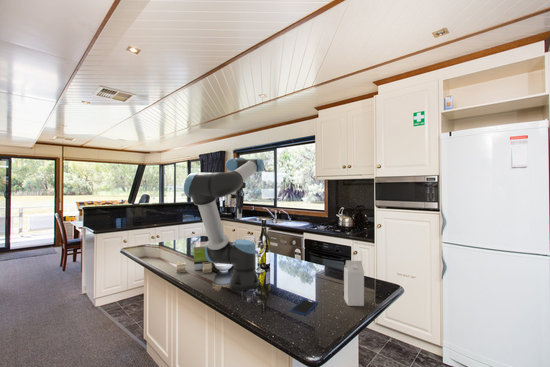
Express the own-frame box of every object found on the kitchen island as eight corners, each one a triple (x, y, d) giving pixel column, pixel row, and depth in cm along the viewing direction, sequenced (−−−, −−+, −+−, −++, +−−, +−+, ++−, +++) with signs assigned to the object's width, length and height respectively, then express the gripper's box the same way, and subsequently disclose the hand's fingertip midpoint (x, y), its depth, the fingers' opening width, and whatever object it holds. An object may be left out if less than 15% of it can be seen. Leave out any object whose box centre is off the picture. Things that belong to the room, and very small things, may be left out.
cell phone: (318, 304, 116) (318, 302, 116) (305, 317, 104) (305, 315, 104) (303, 300, 119) (303, 298, 119) (289, 312, 108) (289, 310, 108)
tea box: (193, 263, 175) (194, 241, 175) (208, 262, 178) (209, 240, 178) (193, 270, 160) (193, 246, 161) (210, 268, 163) (210, 245, 164)
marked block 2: (211, 272, 157) (211, 263, 157) (203, 273, 155) (203, 264, 156) (210, 269, 162) (210, 261, 162) (202, 270, 160) (202, 262, 160)
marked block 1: (185, 271, 157) (185, 263, 157) (176, 272, 156) (176, 264, 156) (185, 269, 162) (185, 261, 162) (176, 270, 160) (176, 262, 160)
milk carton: (343, 299, 120) (344, 258, 120) (359, 299, 120) (359, 258, 120) (347, 306, 113) (347, 262, 113) (364, 306, 113) (364, 263, 113)
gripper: (248, 181, 161) (248, 219, 161) (242, 182, 173) (242, 217, 173) (236, 181, 158) (236, 220, 158) (231, 182, 170) (231, 217, 170)
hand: (239, 218), depth 165 cm, fingers closed
